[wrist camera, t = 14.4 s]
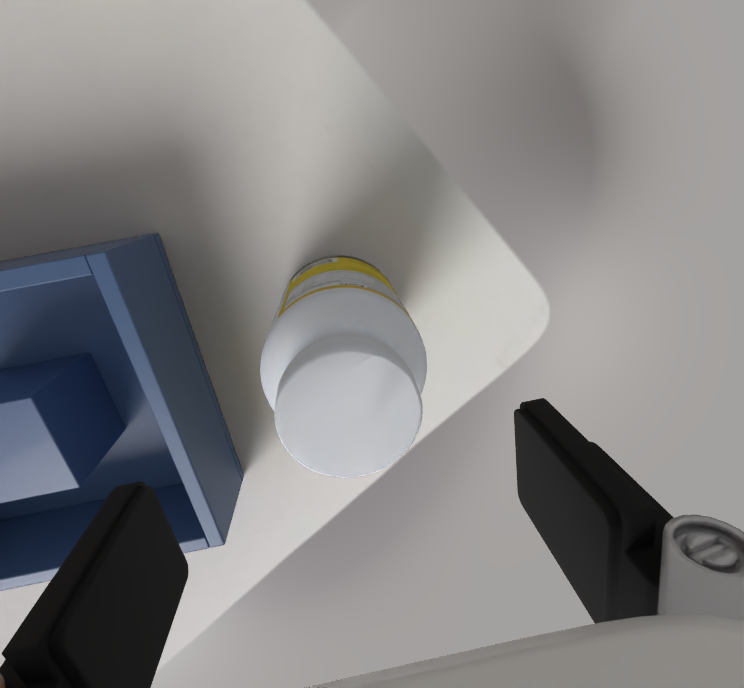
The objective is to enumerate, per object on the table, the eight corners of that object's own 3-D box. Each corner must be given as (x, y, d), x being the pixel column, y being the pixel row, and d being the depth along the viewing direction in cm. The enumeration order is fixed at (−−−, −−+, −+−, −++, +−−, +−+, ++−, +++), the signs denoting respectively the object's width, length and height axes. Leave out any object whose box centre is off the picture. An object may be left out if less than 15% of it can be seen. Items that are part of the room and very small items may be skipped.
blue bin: (158, 232, 21) (104, 251, 16) (244, 475, 27) (225, 545, 22) (-155, 289, 21) (-312, 327, 16) (2, 524, 27) (-75, 606, 22)
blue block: (90, 352, 23) (30, 397, 18) (126, 429, 25) (80, 487, 20) (-3, 369, 23) (-88, 420, 18) (40, 446, 25) (-26, 509, 20)
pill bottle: (335, 382, 26) (341, 533, 15) (256, 306, 23) (196, 418, 13) (418, 313, 24) (490, 421, 14) (343, 226, 22) (359, 274, 12)
